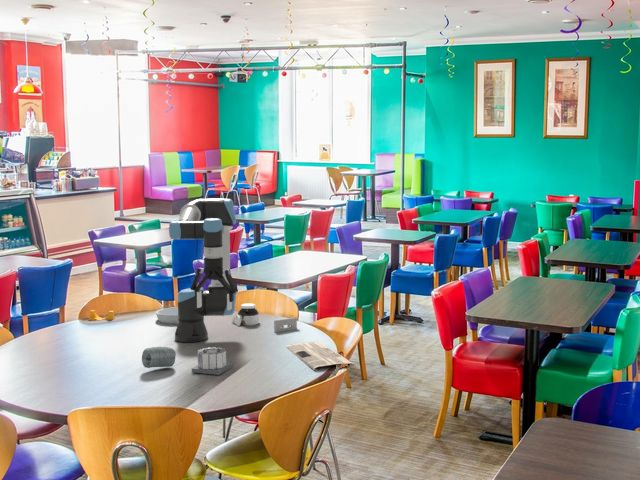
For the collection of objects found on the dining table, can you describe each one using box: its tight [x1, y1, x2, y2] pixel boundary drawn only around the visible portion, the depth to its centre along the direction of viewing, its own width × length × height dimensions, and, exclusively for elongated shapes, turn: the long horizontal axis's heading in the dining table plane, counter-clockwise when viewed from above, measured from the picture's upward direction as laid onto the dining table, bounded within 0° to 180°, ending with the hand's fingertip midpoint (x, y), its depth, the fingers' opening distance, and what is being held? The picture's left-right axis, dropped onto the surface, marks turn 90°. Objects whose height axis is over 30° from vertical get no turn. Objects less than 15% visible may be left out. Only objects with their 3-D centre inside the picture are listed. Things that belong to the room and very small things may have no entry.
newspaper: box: [285, 341, 356, 372], centre depth 322 cm, size 37×19×3 cm, turn 21°
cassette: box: [273, 317, 298, 333], centre depth 363 cm, size 12×2×8 cm, turn 122°
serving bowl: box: [155, 306, 178, 325], centre depth 387 cm, size 21×21×7 cm
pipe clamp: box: [88, 309, 116, 321], centre depth 389 cm, size 12×4×6 cm, turn 82°
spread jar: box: [231, 302, 260, 327], centre depth 377 cm, size 12×11×12 cm
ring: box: [197, 346, 227, 369], centre depth 305 cm, size 11×11×6 cm
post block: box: [191, 350, 233, 376], centre depth 305 cm, size 12×12×8 cm
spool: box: [141, 346, 176, 369], centre depth 306 cm, size 14×10×10 cm
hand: (214, 308), depth 311 cm, fingers open, 13 cm apart
